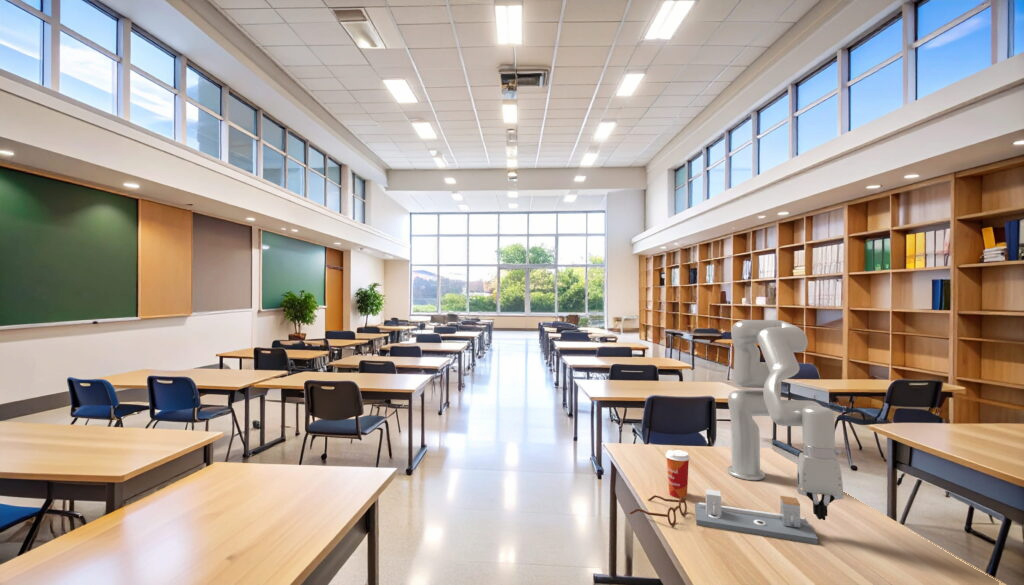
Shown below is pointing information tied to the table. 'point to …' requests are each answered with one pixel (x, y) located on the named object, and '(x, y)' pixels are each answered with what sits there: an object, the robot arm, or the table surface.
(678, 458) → the paper cup
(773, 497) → the table surface
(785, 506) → the block
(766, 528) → the divider plate
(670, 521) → the glasses
